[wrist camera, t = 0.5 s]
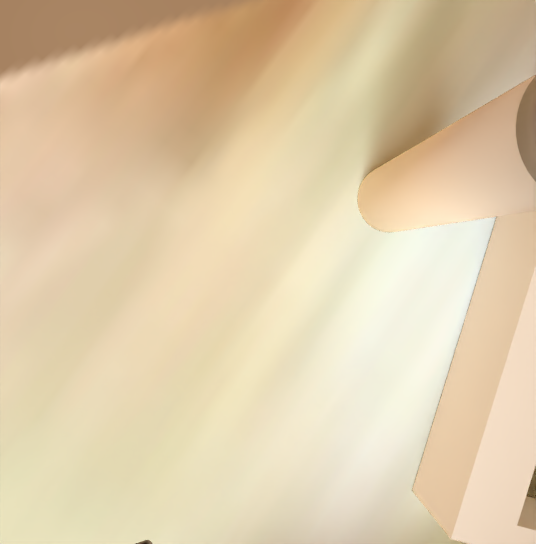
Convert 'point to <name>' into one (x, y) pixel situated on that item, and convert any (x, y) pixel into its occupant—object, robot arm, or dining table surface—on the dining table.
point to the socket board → (489, 403)
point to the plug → (460, 170)
